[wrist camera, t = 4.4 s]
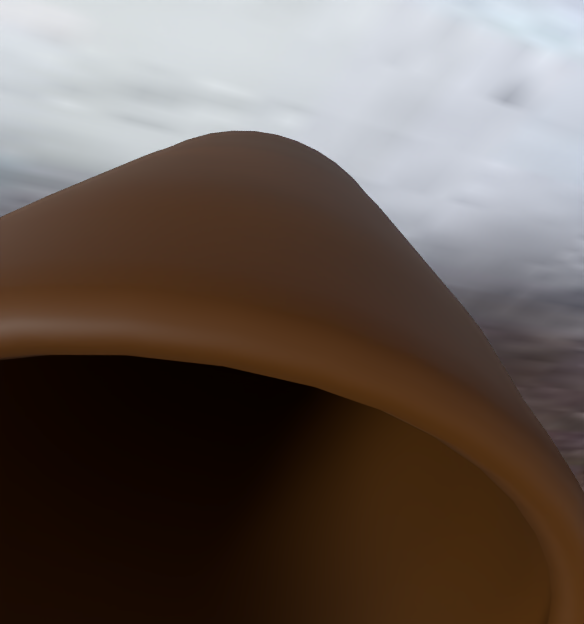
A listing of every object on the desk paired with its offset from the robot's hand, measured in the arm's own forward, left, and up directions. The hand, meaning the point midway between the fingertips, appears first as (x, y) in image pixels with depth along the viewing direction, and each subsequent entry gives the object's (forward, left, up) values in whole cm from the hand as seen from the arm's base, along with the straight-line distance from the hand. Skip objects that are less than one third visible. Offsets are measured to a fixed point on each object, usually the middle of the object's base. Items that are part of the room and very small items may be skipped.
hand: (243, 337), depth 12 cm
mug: (0, 0, -1) cm, 1 cm away
